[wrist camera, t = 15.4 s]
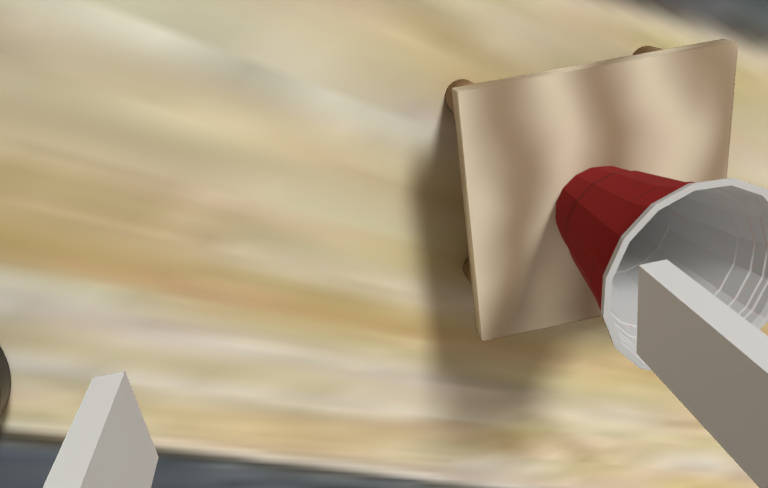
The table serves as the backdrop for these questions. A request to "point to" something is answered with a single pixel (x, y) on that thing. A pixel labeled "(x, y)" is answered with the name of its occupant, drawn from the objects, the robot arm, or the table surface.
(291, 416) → the table surface
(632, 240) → the plastic cup
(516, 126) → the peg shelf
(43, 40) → the table surface
